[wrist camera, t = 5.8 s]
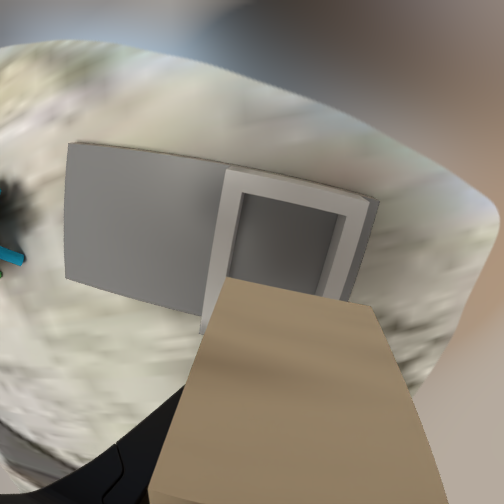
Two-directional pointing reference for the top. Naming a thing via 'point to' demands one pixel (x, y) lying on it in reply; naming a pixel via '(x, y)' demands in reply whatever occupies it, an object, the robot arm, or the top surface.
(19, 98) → the top surface
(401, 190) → the top surface
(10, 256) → the gear
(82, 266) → the gray plate
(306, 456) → the cardboard box
